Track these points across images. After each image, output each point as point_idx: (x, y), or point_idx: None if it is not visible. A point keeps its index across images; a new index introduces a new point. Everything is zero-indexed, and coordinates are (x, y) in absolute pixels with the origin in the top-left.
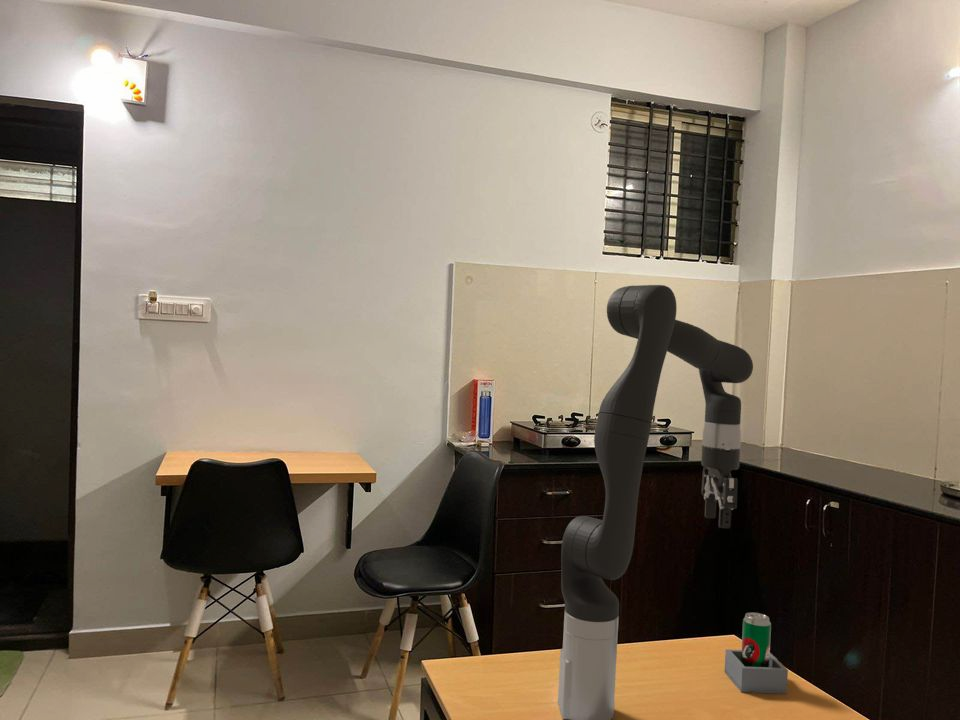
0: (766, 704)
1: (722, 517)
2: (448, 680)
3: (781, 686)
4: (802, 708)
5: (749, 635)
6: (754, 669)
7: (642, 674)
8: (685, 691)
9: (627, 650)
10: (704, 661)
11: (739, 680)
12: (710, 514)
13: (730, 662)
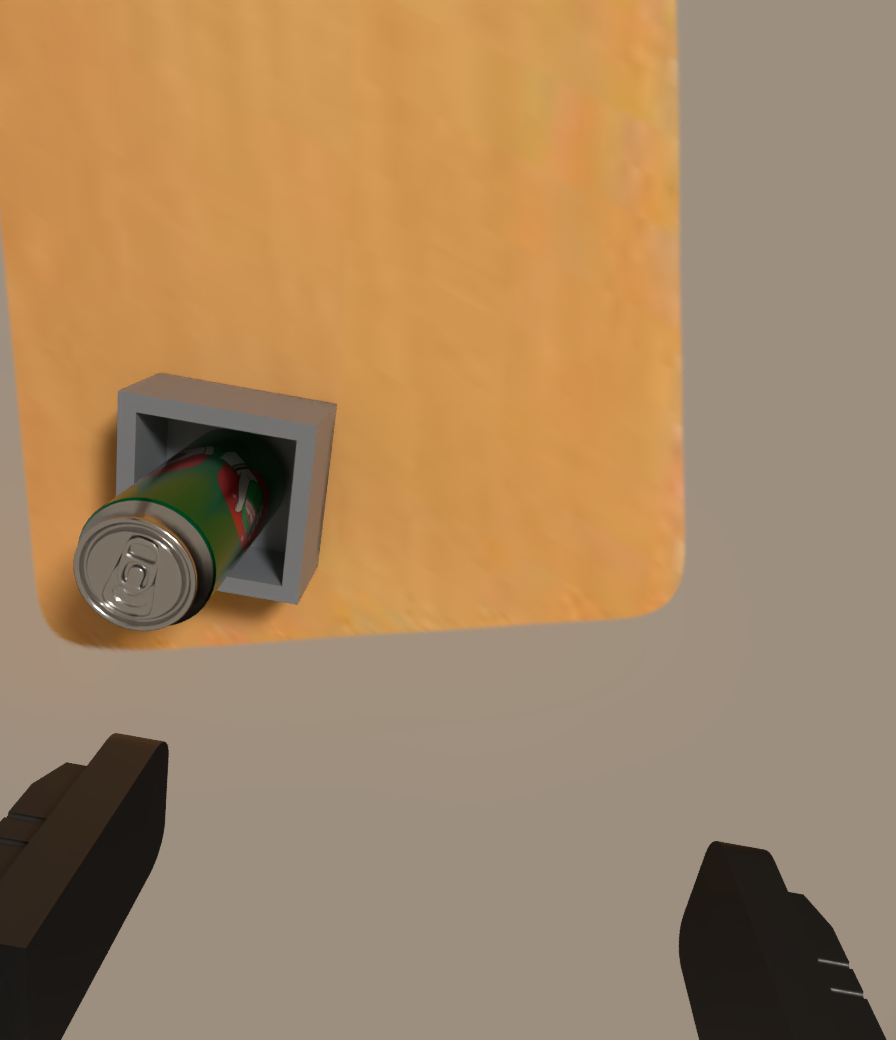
0: (69, 415)
1: (20, 852)
2: None
3: None
4: (50, 526)
5: (129, 487)
6: (119, 441)
7: None
8: (158, 128)
9: (600, 22)
10: (441, 370)
11: (168, 383)
12: (710, 927)
13: (261, 407)
